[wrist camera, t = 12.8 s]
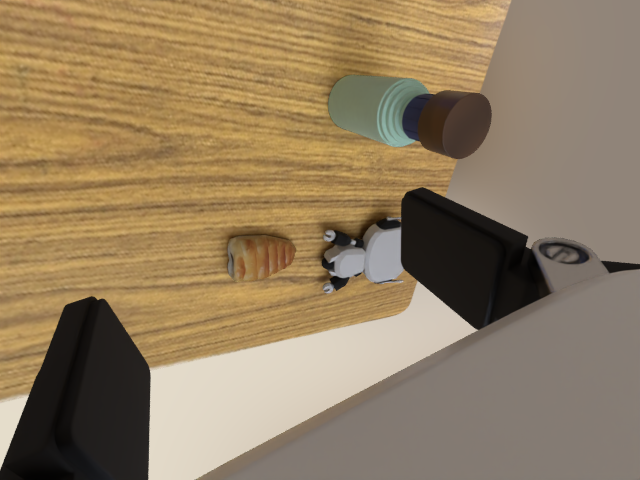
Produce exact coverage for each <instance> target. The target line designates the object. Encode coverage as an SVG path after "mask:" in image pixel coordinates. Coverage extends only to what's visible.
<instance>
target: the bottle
mask: <svg viewBox="0 0 640 480" xmlns="http://www.w3.org/2000/svg"><path fill="white" fill-rule="evenodd" d="M424 93H425V94H429V92H428V90H427V88H426V87H425V86H424V85H423V84H422V83H420V82H419V81H417V80H415V79H412V78H398V77H381V76H364V75H348V76H345V77H343V78H341V79H340V80H339V81H338V82H337V83H336V84H335V85H334V87H333V88H332V90H331V92H330V96H329V101H328V109H329V114H330V117H331V119H332V120H333V122H334V123H335V124H336V125H337V126H338V127H340V128H342V129H345V130H348V131H351V132H353V133H356V134H359V135H362V136H365V137H368V138H370V139H373V140H376V141H379V142H382V143H384V144H387V145H390V146H393V147H402V146H406V145H409V144H411V143H413V142H415V141H416V140H413V139H410V138H408V137H407V136H406V134H405V133H404V131H403V127H402V117H403V113H404V110H405V108H406V106H407V104H408V103H409V102H410V101H411V100H412V99H413V98H414V97H416V96H418V95H421V94H424Z"/></svg>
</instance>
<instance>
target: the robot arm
mask: <svg viewBox="0 0 640 480" xmlns="http://www.w3.org/2000/svg"><path fill="white" fill-rule="evenodd" d="M527 239H528V236H526V235H524V234H522V233H520V232H518V231H516V230H513V229H511V228H509V227H507V226H505V225H503V224H500V223H498V222H496V221H494V220H492V219H490V218H488V217H486V216H484V215H481V214H479V213H477V212H475V211H473V210H471V209H469V208H466V207H464V206H462V205H460V204H458V203H456V202H454V201H452V200H449V199H447V198H445V197H443V196H441V195H439V194H437V193H434V192H432V191H430V190H428V189H426V188H423V187H421V188H418V189H415V190H412V191H409V192H407V193H406V194H405V196H404V198H403V199H402V202H401V264H402V267H403V268H404V269H405V270H406V271H407V272H408V273H409V274H410V275H412V276H413V277H414V278H415V279H416V280H418V281H419V282H420V283H421V284H422V285H424V286H425V287H426V288H427V289H428V290H430V291H431V292H432V293H433V294H434V295H436V296H437V297H438V298H439V299H440V300H441V301H443V302H444V303H445V304H446V305H447V306H449V307H450V308H451V309H452V310H454V311H455V312H456V313H457V314H458V315H460V316H461V317H462V318H463V319H464V320H465V321H467V322H468V323H469V324H470V325H471V326H473V327H474V328H475V329H478V331H476V332H474V333H472V334H471V335H468V336H466V337H465V338H463V339H461V340H459V341H457V342H455V343H453V344H451V345H449V346H447V347H445V348H443V349H441V350H439V351H437V352H435V353H434V354H432V355H430V356H428V357H426V358H424V359H422V360H420V361H418V362H416V363H415V364H413V365H411V366H409V367H407V368H405V369H403V370H401V371H399V372H398V373H395V374H393V375H391V376H390V377H388V378H386V379H384V380H382V381H380V382H378V383H376V384H374V385H372V386H371V387H369V388H367V389H365V390H363V391H361V392H359V393H357V394H355V395H353V396H351V397H350V398H348V399H346V400H344V401H342V402H340V403H338V404H336V405H334V406H332V407H330V408H329V409H327V410H325V411H323V412H321V413H319V414H317V415H315V416H313V417H312V418H310V419H308V420H306V421H304V422H302V423H301V424H299V425H297V426H295V427H293V428H291V429H289V430H287V431H285V432H283V433H281V434H279V435H278V436H276V437H274V438H272V439H270V440H268V441H266V442H264V443H263V444H261V445H259V446H257V447H255V448H253V449H252V450H249V451H247V452H245V453H244V454H242V455H240V456H238V457H236V458H234V459H232V460H230V461H228V462H227V463H225V464H223V465H221V466H219V467H217V468H216V469H214V470H212V471H210V472H208V473H207V474H205V475H203V476H201V477H199V478H198V479H196V480H640V264H630V263H619V262H609V261H600V259H599V258H598V257H597V255H596V254H595V253H594V252H593V251H592V250H591V249H590V248H588V247H587V246H585V245H583V244H581V243H578V242H576V241H572V240H568V239H564V238H544V239H539V240H537V241H536V242H534V243H533V245H532V248H531V249H529V248H527V247H526V243H527ZM149 421H150V369H149V366H148V364H147V362H146V361H145V359H144V357H143V356H142V354H141V353H140V351H139V350H138V348H137V347H136V345H135V344H134V342H133V341H132V339H131V338H130V336H129V335H128V333H127V332H126V330H125V328H124V327H123V325H122V324H121V322H120V321H119V319H118V318H117V316H116V315H115V313H114V312H113V310H112V309H111V307H110V306H109V304H108V303H107V301H106V300H105V299H99V300H97V299H96V298H95V297H92V296H91V297H88V298H85V299H82V300H79V301H76V302H73V303H70V304H67V305H66V306H65V307H64V309H63V312H62V314H61V317H60V320H59V322H58V325H57V328H56V330H55V333H54V335H53V338H52V341H51V343H50V346H49V349H48V351H47V354H46V356H45V359H44V362H43V364H42V367H41V370H40V371H39V373H38V375H37V376H36V379H35V381H34V384H33V387H32V389H31V392H30V394H29V397H28V400H27V402H26V405H25V407H24V410H23V412H22V415H21V418H20V420H19V423H18V425H17V428H16V431H15V434H14V436H13V438H12V441H11V444H10V446H9V449H8V452H7V455H6V457H5V459H4V462H3V464H2V467H1V470H0V480H148V465H149V462H148V461H149Z"/></svg>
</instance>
